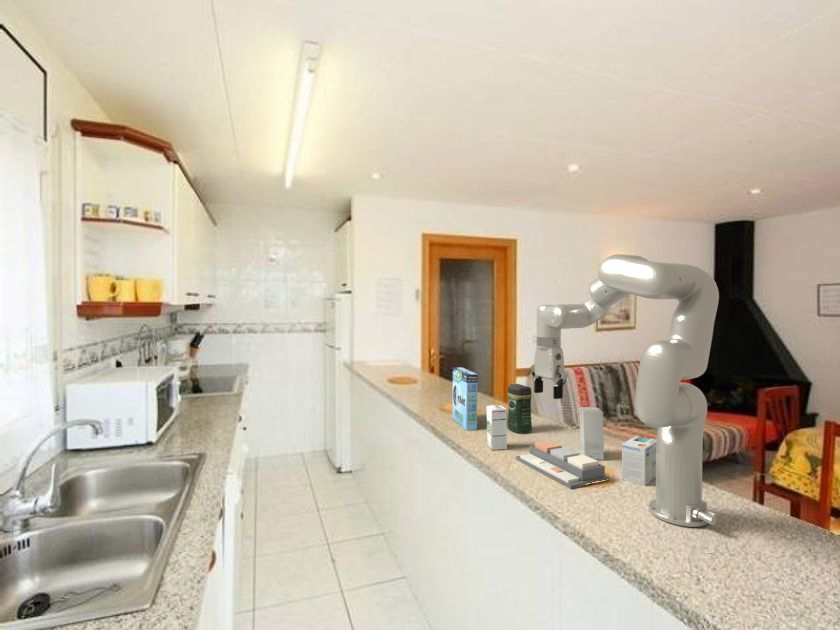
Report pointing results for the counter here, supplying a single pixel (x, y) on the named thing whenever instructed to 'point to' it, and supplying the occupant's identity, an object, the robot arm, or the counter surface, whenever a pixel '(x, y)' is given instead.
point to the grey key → (563, 453)
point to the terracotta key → (547, 446)
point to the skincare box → (591, 432)
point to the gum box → (464, 398)
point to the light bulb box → (639, 460)
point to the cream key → (583, 461)
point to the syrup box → (496, 427)
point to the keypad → (561, 469)
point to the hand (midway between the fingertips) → (548, 395)
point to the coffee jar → (519, 408)
